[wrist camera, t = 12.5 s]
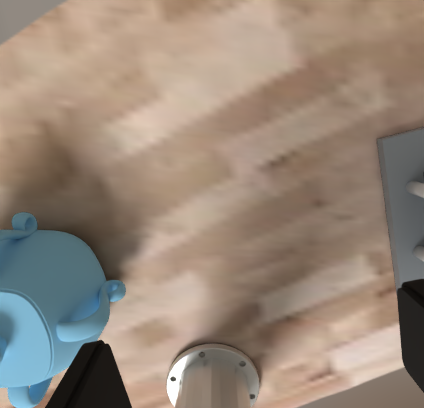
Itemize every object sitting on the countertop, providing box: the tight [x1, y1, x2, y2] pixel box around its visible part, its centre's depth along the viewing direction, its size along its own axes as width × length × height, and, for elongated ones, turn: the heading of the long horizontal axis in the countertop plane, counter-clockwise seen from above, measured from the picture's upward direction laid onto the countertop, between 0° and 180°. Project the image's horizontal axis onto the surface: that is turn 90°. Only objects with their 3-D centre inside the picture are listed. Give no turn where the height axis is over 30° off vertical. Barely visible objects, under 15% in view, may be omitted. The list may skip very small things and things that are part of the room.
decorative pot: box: [0, 212, 126, 408], centre depth 33 cm, size 16×16×14 cm
